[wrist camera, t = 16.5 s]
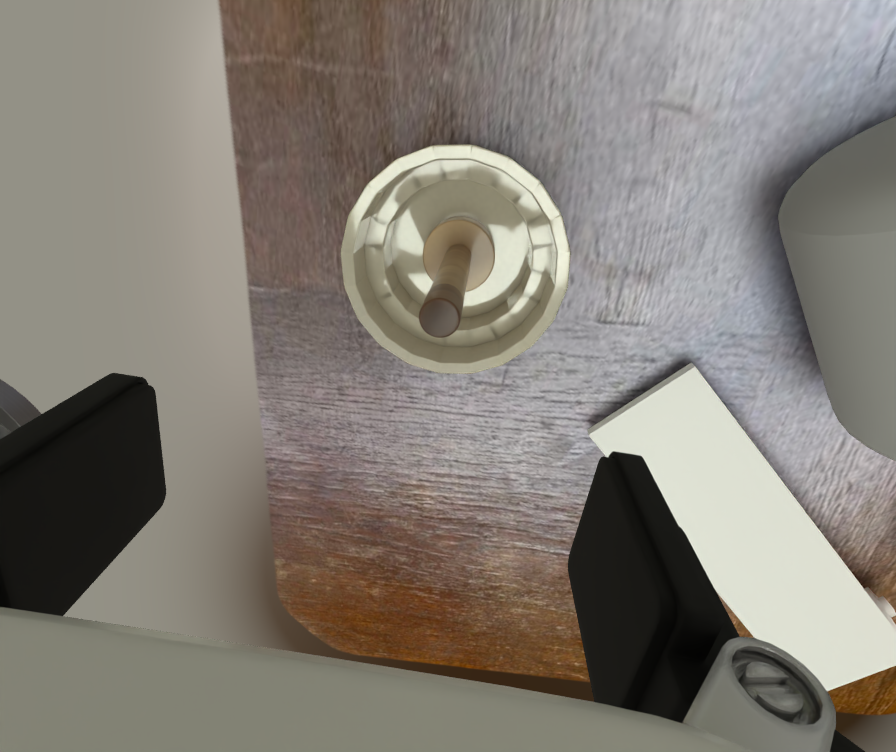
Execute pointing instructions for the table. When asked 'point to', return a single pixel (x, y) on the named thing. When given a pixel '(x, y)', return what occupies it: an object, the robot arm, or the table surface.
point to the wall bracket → (752, 531)
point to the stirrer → (454, 271)
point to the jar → (850, 277)
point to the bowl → (402, 270)
